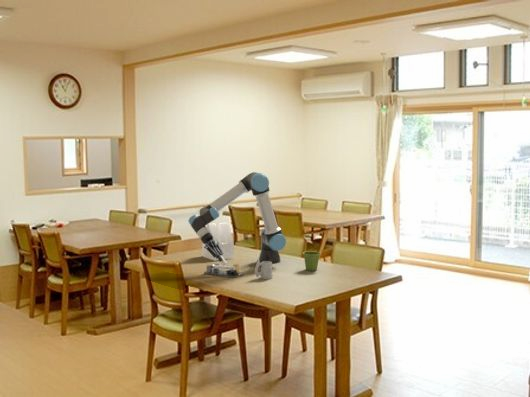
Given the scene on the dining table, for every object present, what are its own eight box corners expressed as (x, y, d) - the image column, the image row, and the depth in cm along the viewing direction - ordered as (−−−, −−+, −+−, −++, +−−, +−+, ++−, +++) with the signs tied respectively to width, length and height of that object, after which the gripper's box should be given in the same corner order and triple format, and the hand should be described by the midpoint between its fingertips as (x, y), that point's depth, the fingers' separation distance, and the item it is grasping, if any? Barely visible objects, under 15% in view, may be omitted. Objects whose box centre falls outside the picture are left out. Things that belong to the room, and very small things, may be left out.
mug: (274, 278, 375) (275, 259, 374) (257, 280, 370) (257, 261, 369) (269, 276, 382) (269, 257, 381) (252, 277, 377) (252, 258, 376)
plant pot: (299, 270, 397) (299, 253, 396) (306, 267, 408) (307, 250, 407) (316, 272, 392) (316, 255, 391) (323, 269, 402) (323, 252, 401)
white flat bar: (209, 268, 390) (209, 265, 390) (214, 266, 394) (213, 264, 394) (231, 270, 380) (231, 267, 380) (236, 268, 384) (236, 265, 384)
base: (204, 273, 389) (204, 262, 388) (213, 270, 397) (213, 259, 397) (234, 278, 376) (234, 266, 375) (243, 275, 384) (243, 263, 384)
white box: (202, 256, 445) (202, 222, 442) (220, 254, 453) (220, 220, 450) (214, 260, 429) (214, 225, 426) (233, 258, 437) (233, 224, 434)
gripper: (208, 238, 399) (228, 266, 392) (195, 240, 389) (215, 270, 381) (214, 230, 396) (235, 259, 388) (201, 233, 385) (222, 262, 378)
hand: (225, 264), depth 385 cm, fingers closed
